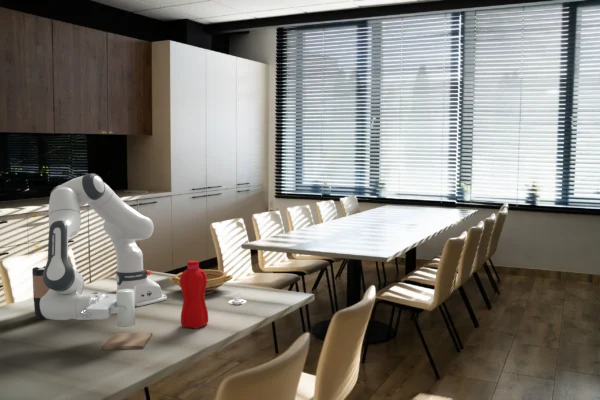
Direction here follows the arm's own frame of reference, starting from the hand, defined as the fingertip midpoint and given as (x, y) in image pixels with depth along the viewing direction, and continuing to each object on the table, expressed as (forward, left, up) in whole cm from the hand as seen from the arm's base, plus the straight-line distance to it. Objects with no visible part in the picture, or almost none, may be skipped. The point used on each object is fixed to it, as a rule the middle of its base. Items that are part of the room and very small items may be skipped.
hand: (128, 306), depth 207 cm
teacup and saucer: (-54, -23, -13) cm, 60 cm away
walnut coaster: (+1, 0, -13) cm, 13 cm away
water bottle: (-27, -4, -13) cm, 31 cm away
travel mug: (+17, -52, -13) cm, 56 cm away
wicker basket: (-52, -50, -13) cm, 74 cm away
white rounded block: (+1, -1, -6) cm, 7 cm away
